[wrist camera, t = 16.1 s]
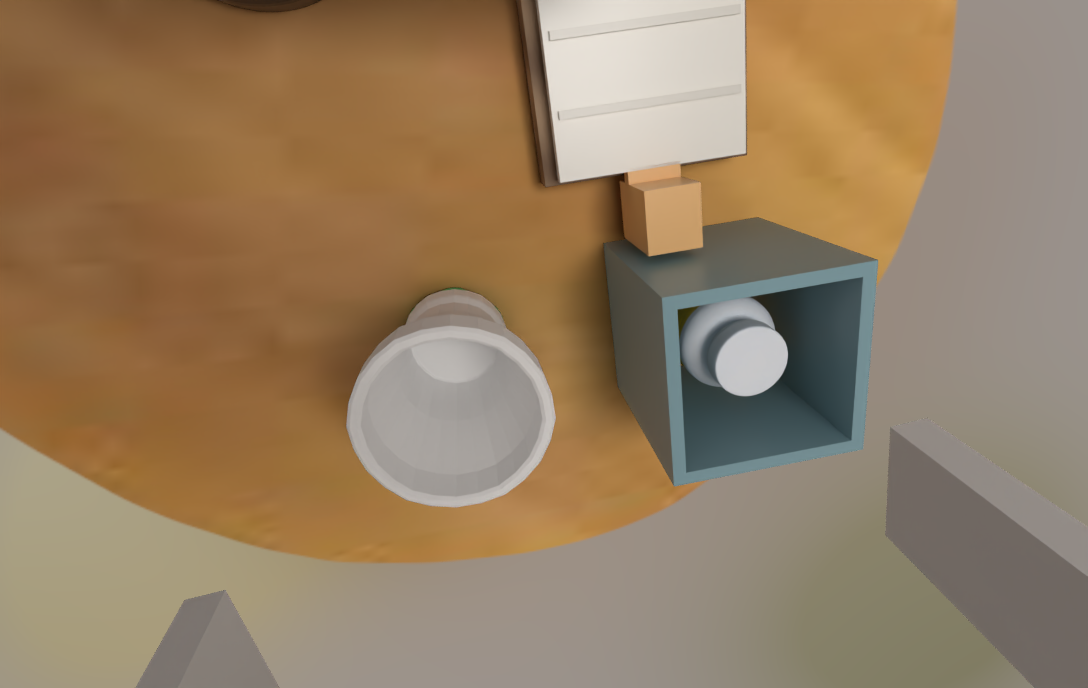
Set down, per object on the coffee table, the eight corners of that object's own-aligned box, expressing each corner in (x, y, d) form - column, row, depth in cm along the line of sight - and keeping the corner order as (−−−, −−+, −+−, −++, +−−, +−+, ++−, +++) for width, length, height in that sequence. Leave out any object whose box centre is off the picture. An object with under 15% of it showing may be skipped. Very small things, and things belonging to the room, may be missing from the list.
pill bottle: (639, 342, 47) (691, 409, 36) (651, 262, 45) (710, 310, 34) (716, 344, 48) (788, 411, 37) (731, 267, 46) (813, 314, 35)
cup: (484, 420, 48) (491, 536, 35) (355, 360, 45) (310, 463, 32) (556, 305, 45) (594, 384, 32) (424, 232, 42) (406, 287, 29)
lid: (528, -33, 35) (540, -59, 30) (726, -59, 36) (773, -90, 31) (563, 247, 42) (578, 268, 36) (731, 219, 43) (770, 235, 37)
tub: (603, 242, 44) (661, 297, 31) (758, 217, 45) (878, 260, 32) (617, 386, 48) (674, 486, 35) (757, 360, 49) (862, 449, 36)
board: (507, -68, 36) (510, -80, 34) (727, -97, 37) (745, -110, 35) (541, 182, 42) (545, 187, 39) (731, 152, 43) (746, 154, 40)
